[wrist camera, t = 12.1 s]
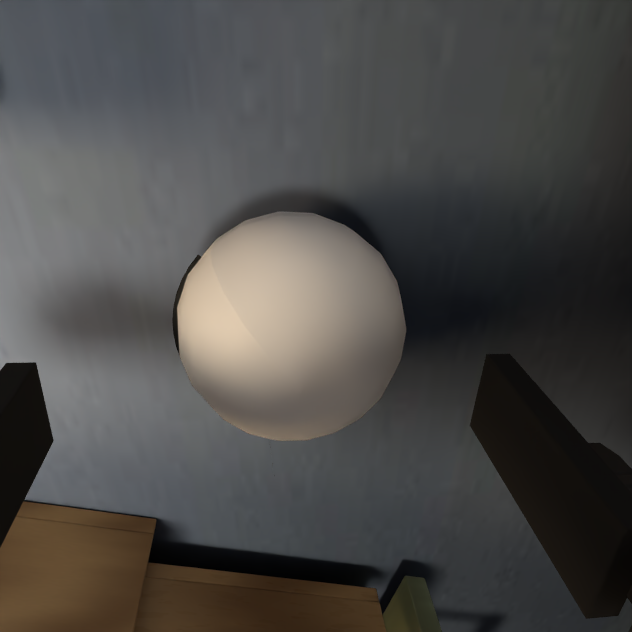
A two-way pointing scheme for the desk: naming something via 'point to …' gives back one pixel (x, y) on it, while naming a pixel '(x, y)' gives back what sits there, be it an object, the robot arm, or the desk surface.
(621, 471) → the robot arm
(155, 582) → the drawer
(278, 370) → the cream egg
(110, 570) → the cabinet
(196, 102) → the desk surface
